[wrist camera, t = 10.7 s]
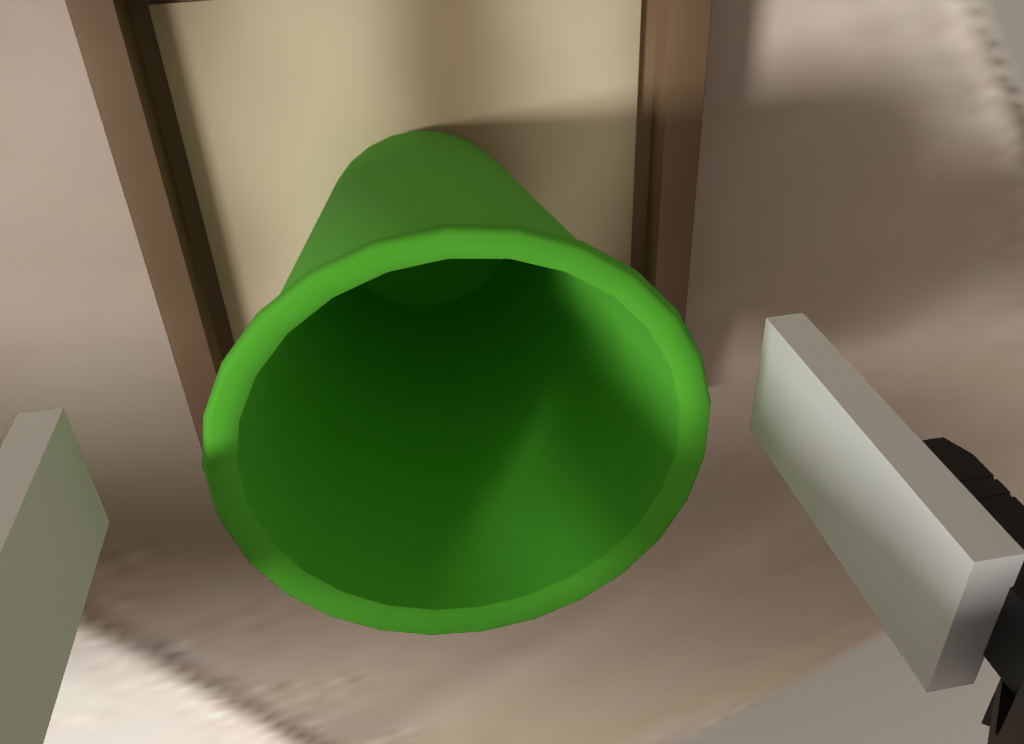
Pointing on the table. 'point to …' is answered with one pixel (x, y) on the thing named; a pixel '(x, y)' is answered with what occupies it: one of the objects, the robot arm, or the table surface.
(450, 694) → the table surface
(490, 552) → the cup
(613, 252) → the tray
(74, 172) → the table surface
